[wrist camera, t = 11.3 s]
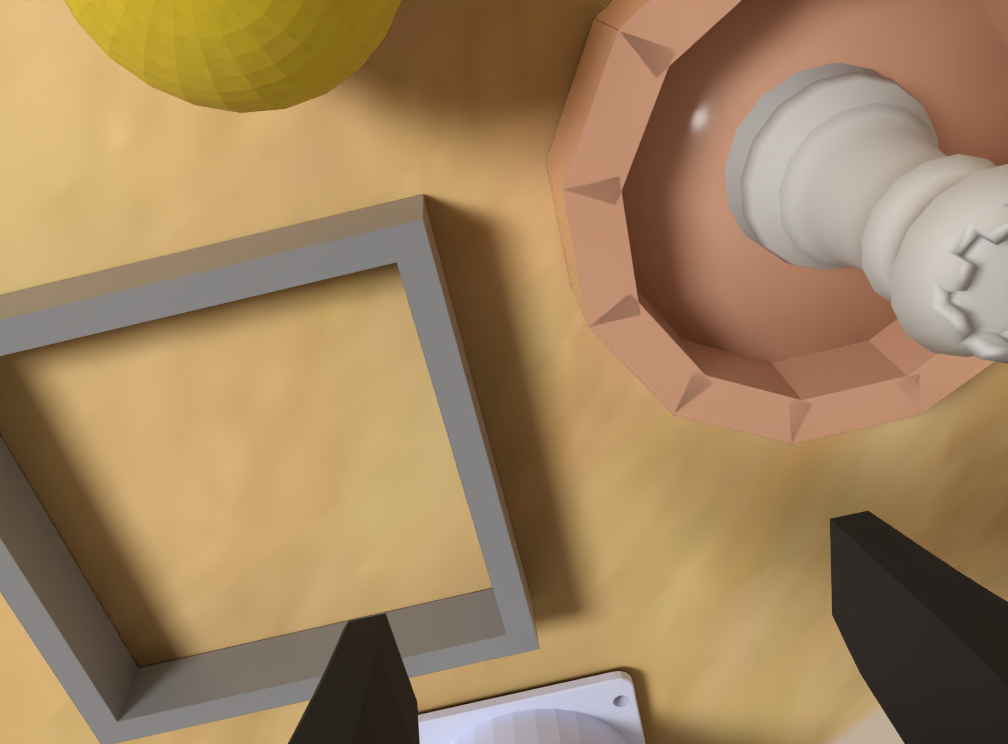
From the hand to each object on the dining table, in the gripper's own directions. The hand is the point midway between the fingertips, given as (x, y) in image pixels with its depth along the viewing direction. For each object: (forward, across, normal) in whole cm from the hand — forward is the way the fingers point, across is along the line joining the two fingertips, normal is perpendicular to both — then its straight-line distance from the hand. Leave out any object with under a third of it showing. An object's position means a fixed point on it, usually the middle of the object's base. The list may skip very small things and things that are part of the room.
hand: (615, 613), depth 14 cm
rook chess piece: (+9, -7, -4) cm, 12 cm away
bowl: (+10, -7, -3) cm, 12 cm away
